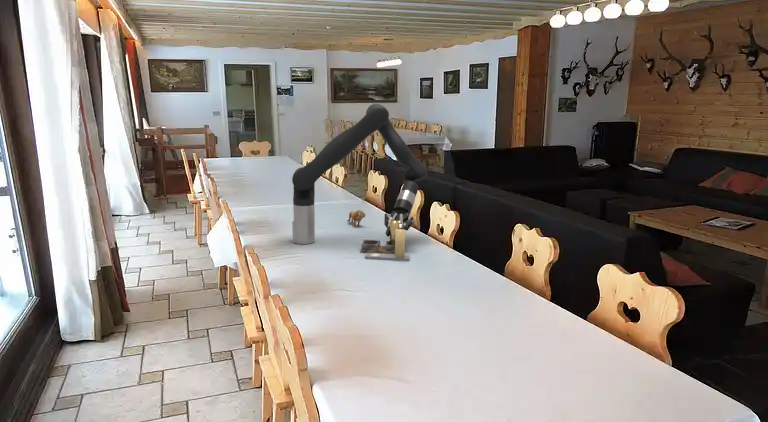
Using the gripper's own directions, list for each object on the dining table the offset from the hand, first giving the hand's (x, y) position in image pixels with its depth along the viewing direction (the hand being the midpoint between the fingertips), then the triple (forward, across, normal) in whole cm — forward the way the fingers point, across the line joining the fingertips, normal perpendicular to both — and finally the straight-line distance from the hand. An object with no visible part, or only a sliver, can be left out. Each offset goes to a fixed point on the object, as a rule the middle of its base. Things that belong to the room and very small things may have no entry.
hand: (392, 236), depth 212 cm
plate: (+10, +1, 0) cm, 11 cm away
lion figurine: (-18, -36, +28) cm, 49 cm away
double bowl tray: (+5, -5, +5) cm, 8 cm away
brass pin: (+2, 0, +5) cm, 5 cm away
